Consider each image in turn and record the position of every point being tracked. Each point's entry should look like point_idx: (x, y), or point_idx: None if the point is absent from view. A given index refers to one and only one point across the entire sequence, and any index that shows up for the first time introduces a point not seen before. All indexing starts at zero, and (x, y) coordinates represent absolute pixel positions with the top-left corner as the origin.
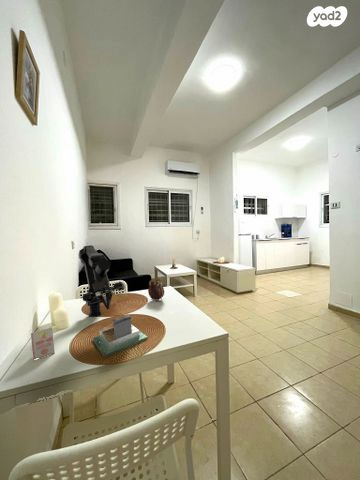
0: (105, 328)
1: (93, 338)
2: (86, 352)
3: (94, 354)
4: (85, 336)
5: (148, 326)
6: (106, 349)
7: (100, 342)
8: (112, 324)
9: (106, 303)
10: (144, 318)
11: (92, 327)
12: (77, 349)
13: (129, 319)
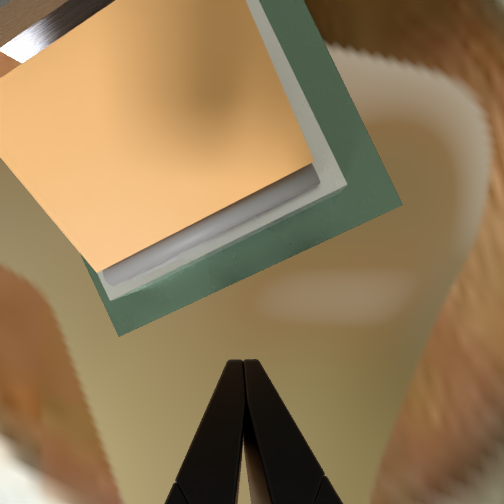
0: (263, 46)
1: (393, 194)
2: (414, 44)
3: (349, 5)
4: (473, 290)
5: (14, 277)
6: (265, 3)
7: (324, 114)
8: (213, 180)
9: (256, 477)
10: (38, 414)
11: (440, 431)
12: (497, 103)
13: None
